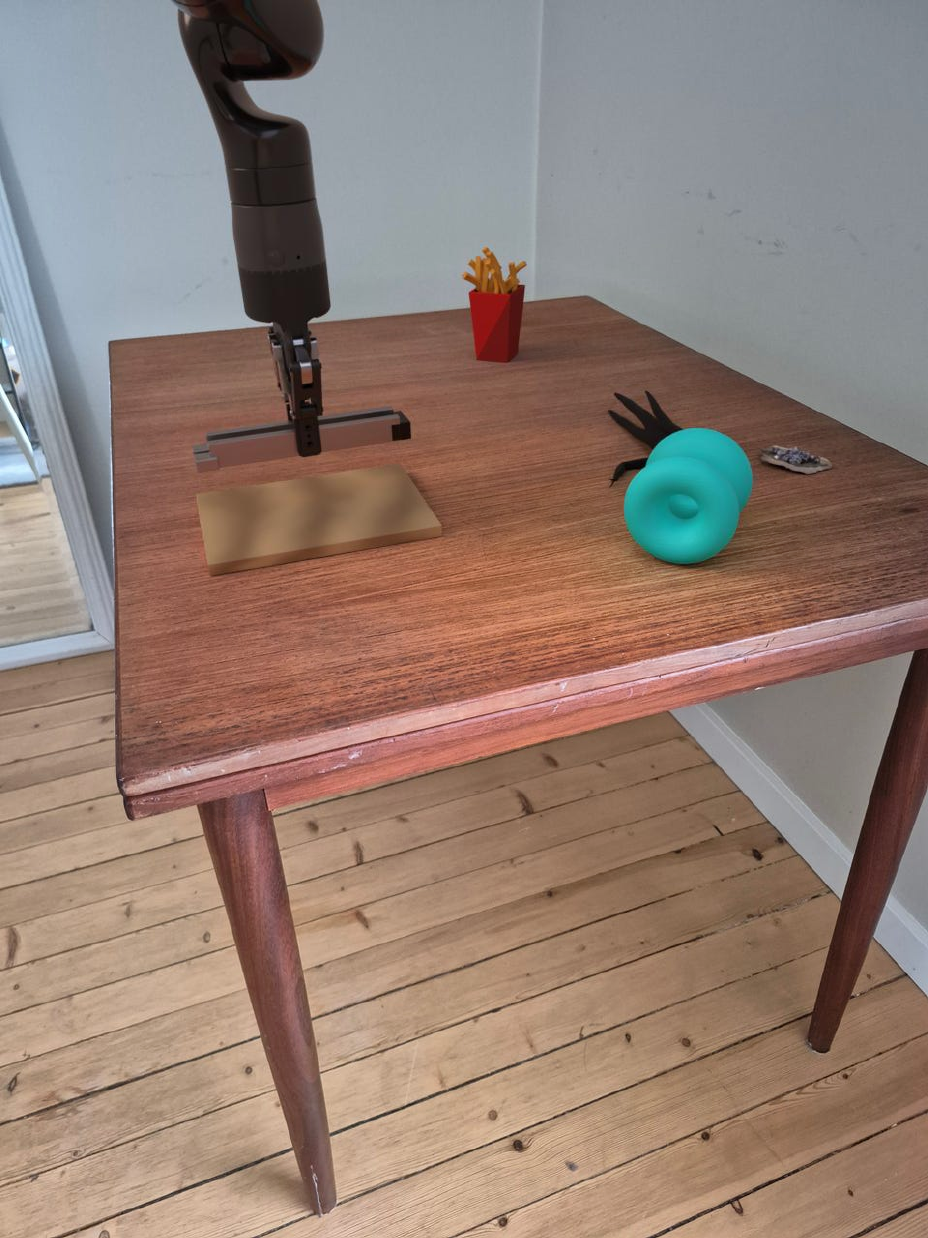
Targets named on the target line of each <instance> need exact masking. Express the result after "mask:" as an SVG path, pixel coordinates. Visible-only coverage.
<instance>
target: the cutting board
mask: <svg viewBox="0 0 928 1238" xmlns="http://www.w3.org/2000/svg"><path fill="white" fill-rule="evenodd" d="M195 499H196V505H197V510H198V516H199V522H200V528H201V535H202V540H203V546H204V547H203V548H204V553H205V559H206V565H207V570H208V575H209V577H213V576H218V575H224V574H230V573H235V572H241V571H247V570H253V569H259V568H265V567H271V566H276V565H282V564H283V565H284V564H289V563H294V562H301V561H306V560H311V559H317V558H322V557H329V556H334V555H335V556H336V555H340V554H341V555H342V554H346V553H350V552H351V553H352V552H357V551H364V550H370V549H375V548H382V547H387V546H392V545H397V544H398V545H399V544H406V543H410V542H411V543H412V542H416V541H422V540H428V539H433V538H438V537H439V538H440V537H443V525H442V523H441V522H440V521H439V519H438V517H437V516H436V514H435V513H434V512H433V510H432V508H431V507H430V506H429V504H428V503H427V500H426V499H425V498H424V497H423V495H422V494H421V492H420V491H419V489H418V487H417V486H416V484H415V483H414V481H413V480H412V479H411V477H410V476H409V474H408V473H407V472H406V470H405V468H404V467H403V465H402V463H394V464H386V465H380V466H379V465H378V466H374V467H367V468H360V469H354V470H346V471H339V472H332V473H326V474H319V475H313V476H307V477H301V478H293V479H287V480H279V481H273V482H266V483H260V484H259V483H258V484H254V485H246V486H240V487H233V488H226V489H220V490H213V491H207V492H199V493H196V494H195Z"/></svg>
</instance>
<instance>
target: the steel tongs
mask: <svg viewBox="0 0 928 1238" xmlns="http://www.w3.org/2000/svg"><path fill="white" fill-rule="evenodd" d="M318 424H319V432H320V440H321V449H322V451H321V453H320V454H322V453H328V452H334V451H343V450H348V449H355V448H362V447H369V446H375V445H381V444H386V443H393V442H401V441H405V440H411V439H412V429H411V428H412V426H411V421H410V419H409V418H408V417H407V416H406V415H405V414H404V412H403V411H402V410H397V411H394V408H393V407H392V405H390V406H381V407H376V408H374V407H373V408H369V409H361V410H354V411H347V412H341V413H332V414H324V415H322V416H318ZM204 435H205V436H204V437H205V441H206V442H205V443H204V442H203V443H198V444H192V445H191V449H192V454H193V455H192V456H193V459H194V463H195V467H196V471H197V474H202V473H203V474H204V473H208V472H215V471H220V470H221V469H223V468H231V467H237V466H243V465H250V464H256V463H262V462H264V463H265V462H270V461H277V460H282V459H289V458H296V457H301V456H300V455H299V454H298V452H297V446H296V438H295V432H294V424H293V420H290V421H288V420H283V421H276V422H269V423H262V424H255V425H248V426H240V427H234V428H227V429H226V428H225V429H221V430H214V431H213V430H212V431H208V432H207V431H206V432H204Z"/></svg>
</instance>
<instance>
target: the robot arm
mask: <svg viewBox="0 0 928 1238" xmlns="http://www.w3.org/2000/svg"><path fill="white" fill-rule="evenodd" d="M169 1H170V2H171V3H172V4H173V5H174V6H175V7H176V8H177V24H178V25H177V27H178V31H179V36H180V39H181V43H182V46H183V48H184V52H185V55H186V57H187V60H188V62H189V64H190V67H191V69H192V71H193V75H195V76H194V77H195V78H196V80H197V83H198V86H199V88H200V90H201V93H202V96H203V98H204V101H205V103H206V105H207V108H208V111H209V113H210V116H211V119H212V122H213V125H214V127H215V128H214V129H215V131H216V134H217V136H218V139H219V143H220V146H221V150H222V154H223V160H224V166H225V174H226V180H227V181H226V182H227V186H228V194H229V199H230V200H229V201H230V207H231V232H232V240H233V246H234V252H235V258H236V265H237V272H238V278H239V285H240V291H241V297H242V303H243V310H244V313H245V316H247V318H249V319H250V320H252V321H255V322H258V323H261V324H262V323H263V324H271V323H272V326H269V327H268V331H267V336H266V338H267V346H268V349H269V351H270V354H271V356H272V363H273V373H274V376H275V379H276V383H277V387H278V388H279V391H280V392H281V395H280V396H281V400H282V401H283V404H285V411H286V418H287V421H290V420H293V424H294V432H295V438H296V446H297V452H298V454H299V455H300V456H299V457H301V458H308V457H316V456H319V455H321V454H322V453H321V451H322V449H321V440H320V432H319V424H318V416H324V415H323V414H324V406H323V392H322V391H323V389H322V387H323V386H322V369H323V367H322V362H320V359H319V356H320V350H319V343H318V339H317V336H313V334H312V330H311V329H309V324H308V323H310V321H311V320H313V319H319V318H321V317H323V316H325V315H326V314H328V312H329V311H330V310H331V306H332V305H331V293H330V284H329V277H328V267H327V257H326V256H327V255H326V247H325V238H324V230H323V223H322V219H321V214H320V211H319V210H320V209H319V206H318V198H317V191H316V181H315V171H314V164H313V153H312V144H311V139H310V134H309V131H308V128H307V126H306V125H305V124H304V123H303V122H302V121H300V120H298V119H296V118H294V117H292V116H291V117H290V116H286V115H282V114H277V113H273V112H269V111H267V110H264V109H262V108H261V107H259V106H258V105H257V104H256V103H255V101H254V100H253V98H252V97H251V95H250V94H249V92H248V89H247V87H246V84H245V82H263V81H264V82H269V81H270V82H272V81H276V82H277V81H294V80H298V79H300V78H303V77H305V76H307V75H308V74H310V72H312V70H313V69H315V67H316V66H317V64H318V62H319V60H320V58H321V56H322V53H323V48H324V43H325V28H324V27H325V26H324V19H323V15H322V11H321V7H320V4H319V1H318V0H169Z"/></svg>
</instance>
